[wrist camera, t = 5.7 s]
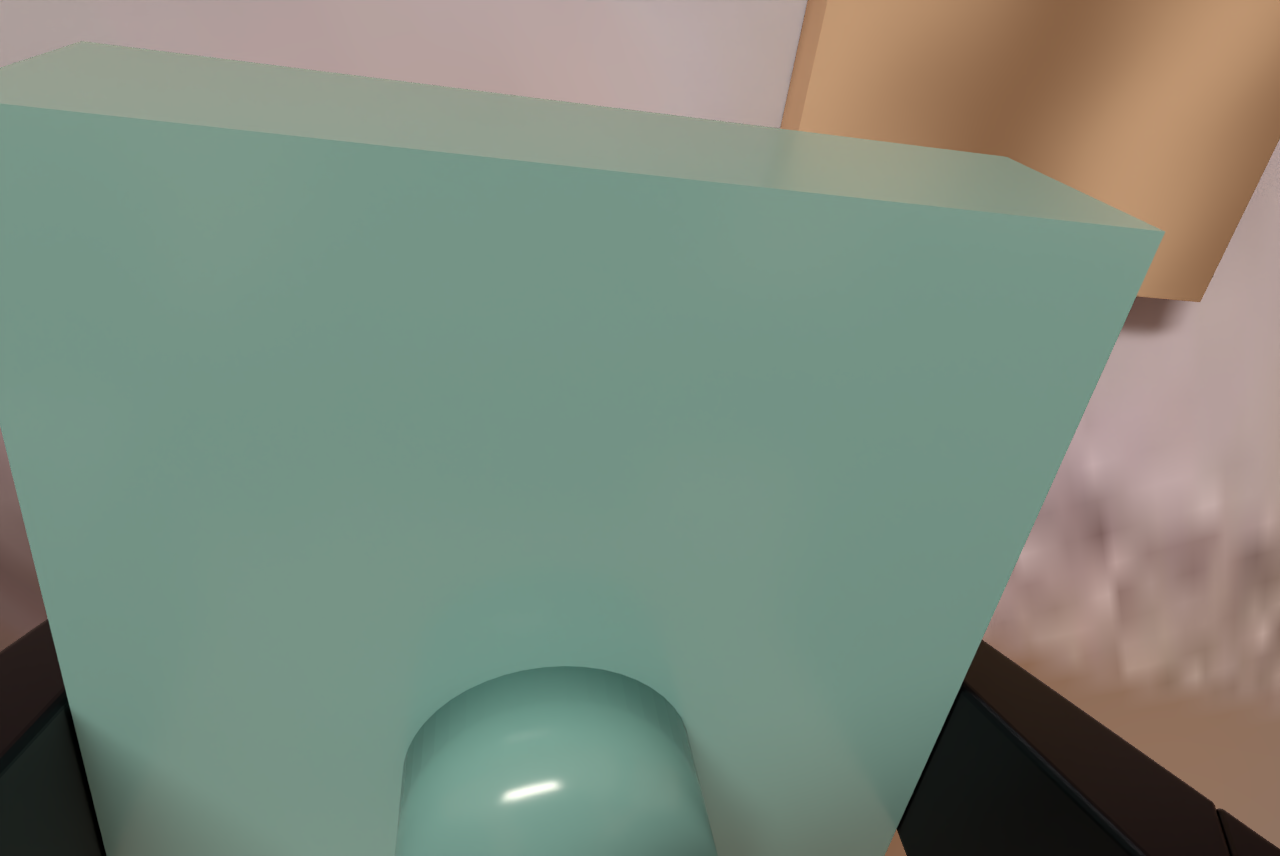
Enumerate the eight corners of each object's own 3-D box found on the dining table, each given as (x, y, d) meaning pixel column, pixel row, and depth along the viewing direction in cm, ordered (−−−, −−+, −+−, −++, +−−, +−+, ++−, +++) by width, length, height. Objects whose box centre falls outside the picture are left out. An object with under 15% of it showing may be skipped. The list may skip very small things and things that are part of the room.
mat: (1421, -258, 15) (1477, -268, 14) (1169, 285, 20) (1199, 302, 19) (893, -396, 13) (921, -417, 12) (755, 246, 18) (768, 263, 17)
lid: (1007, 157, 7) (1315, 302, 5) (757, 882, 12) (836, 1161, 9) (81, 40, 6) (-265, 155, 3) (217, 915, 11) (127, 1255, 8)
